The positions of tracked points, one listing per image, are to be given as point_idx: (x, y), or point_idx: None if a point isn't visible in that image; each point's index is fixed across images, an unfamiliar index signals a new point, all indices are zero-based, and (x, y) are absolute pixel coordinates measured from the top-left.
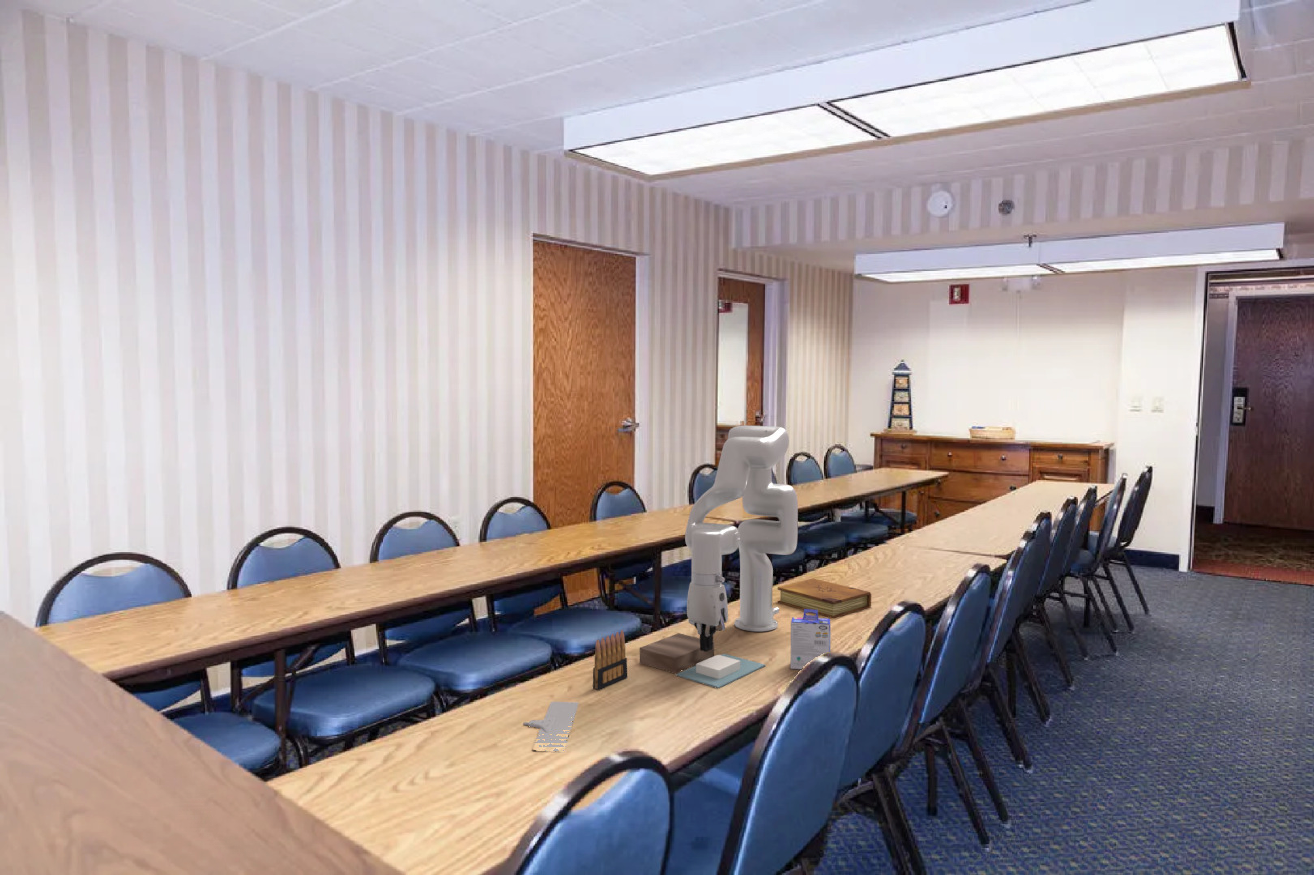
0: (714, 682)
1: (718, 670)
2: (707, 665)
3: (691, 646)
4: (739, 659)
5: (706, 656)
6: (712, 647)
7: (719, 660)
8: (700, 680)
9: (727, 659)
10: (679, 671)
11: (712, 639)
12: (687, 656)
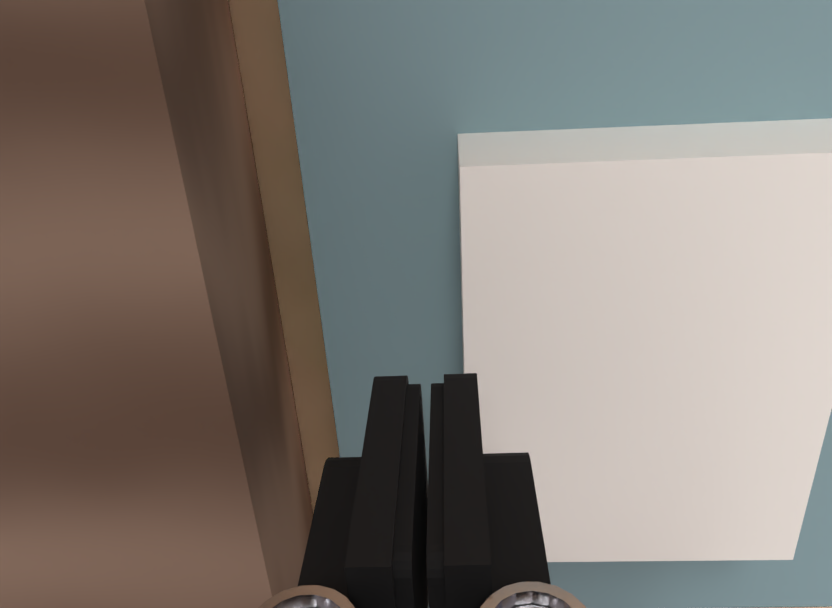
0: (760, 560)
1: (788, 558)
2: (600, 529)
3: (81, 364)
4: None
5: (232, 125)
6: (475, 381)
7: (623, 336)
8: (625, 594)
9: (697, 238)
10: None
11: (542, 554)
12: (274, 532)
